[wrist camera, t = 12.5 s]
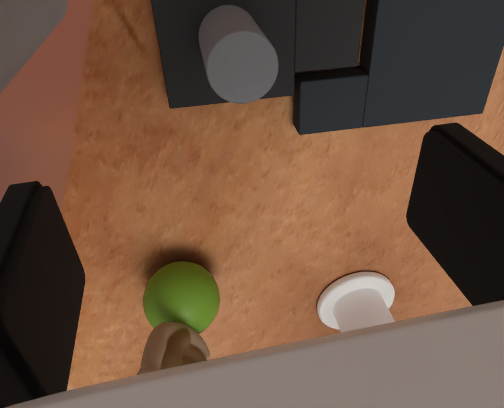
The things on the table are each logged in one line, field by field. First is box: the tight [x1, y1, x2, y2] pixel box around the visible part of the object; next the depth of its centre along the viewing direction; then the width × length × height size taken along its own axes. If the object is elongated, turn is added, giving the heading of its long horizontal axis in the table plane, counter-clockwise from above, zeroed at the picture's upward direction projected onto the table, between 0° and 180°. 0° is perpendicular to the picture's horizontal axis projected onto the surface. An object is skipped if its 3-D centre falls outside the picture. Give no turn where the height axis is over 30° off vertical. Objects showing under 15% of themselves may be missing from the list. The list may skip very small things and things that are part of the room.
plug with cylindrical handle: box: [151, 0, 365, 108], centre depth 20 cm, size 11×7×6 cm, turn 93°
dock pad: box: [293, 0, 504, 135], centre depth 23 cm, size 12×12×2 cm
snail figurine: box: [137, 261, 220, 375], centre depth 27 cm, size 5×6×12 cm
